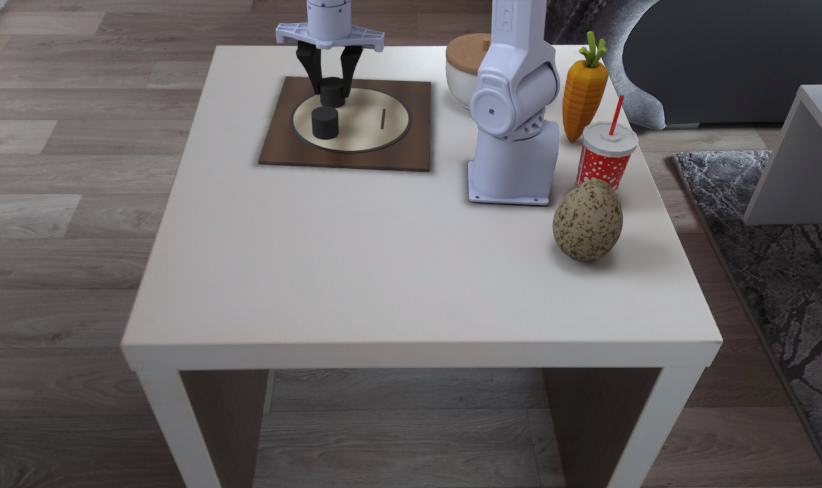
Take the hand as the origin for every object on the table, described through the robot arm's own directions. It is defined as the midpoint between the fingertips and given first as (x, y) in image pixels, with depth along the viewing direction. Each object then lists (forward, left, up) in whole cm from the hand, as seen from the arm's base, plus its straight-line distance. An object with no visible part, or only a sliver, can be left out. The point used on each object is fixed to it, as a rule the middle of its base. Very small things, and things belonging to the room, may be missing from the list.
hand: (332, 92), depth 99 cm
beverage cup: (-34, +19, -2) cm, 39 cm away
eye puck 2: (0, +8, -1) cm, 8 cm away
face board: (-3, +4, -2) cm, 5 cm away
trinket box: (-21, -3, -2) cm, 21 cm away
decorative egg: (-31, +29, -2) cm, 43 cm away
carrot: (-33, +7, -2) cm, 34 cm away
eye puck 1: (0, 0, -1) cm, 1 cm away
